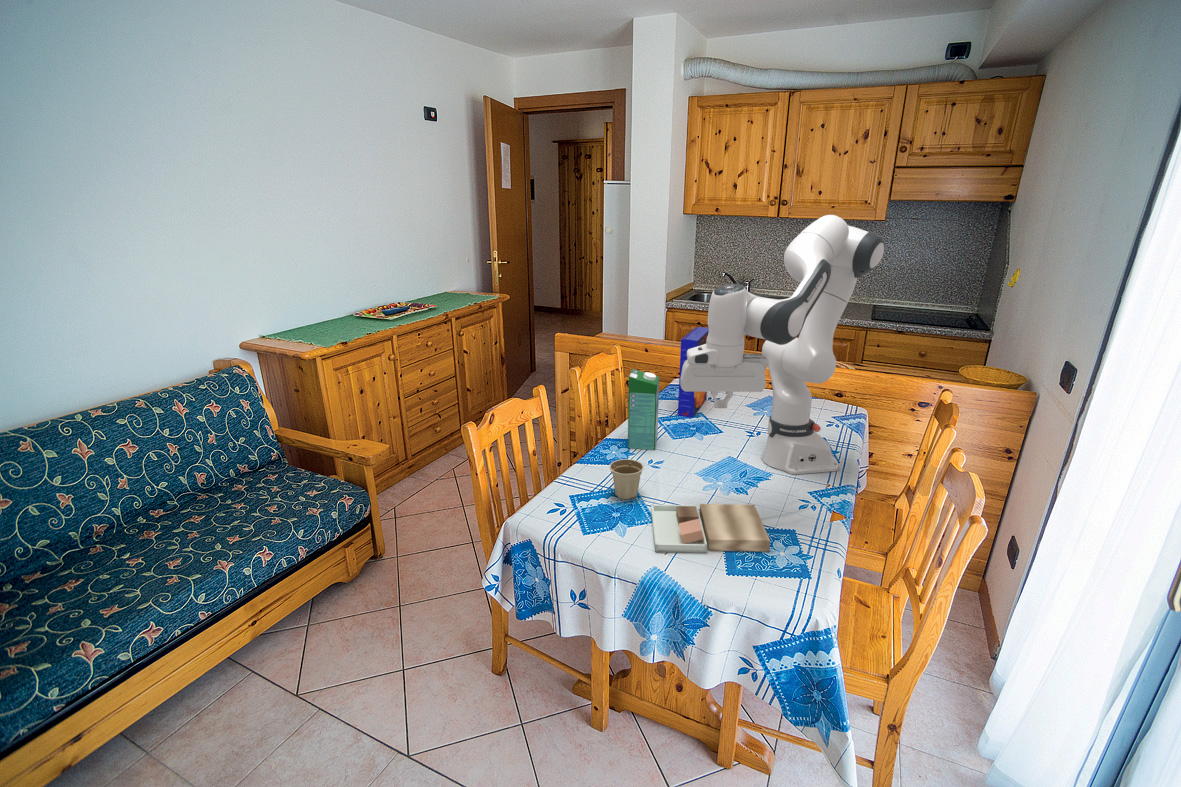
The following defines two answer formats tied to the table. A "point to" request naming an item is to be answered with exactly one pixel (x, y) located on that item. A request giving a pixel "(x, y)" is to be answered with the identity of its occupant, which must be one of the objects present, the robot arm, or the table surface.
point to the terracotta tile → (691, 531)
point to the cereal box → (687, 399)
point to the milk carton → (643, 410)
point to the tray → (672, 531)
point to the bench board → (733, 528)
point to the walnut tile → (686, 513)
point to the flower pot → (626, 477)
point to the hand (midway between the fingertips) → (720, 407)
